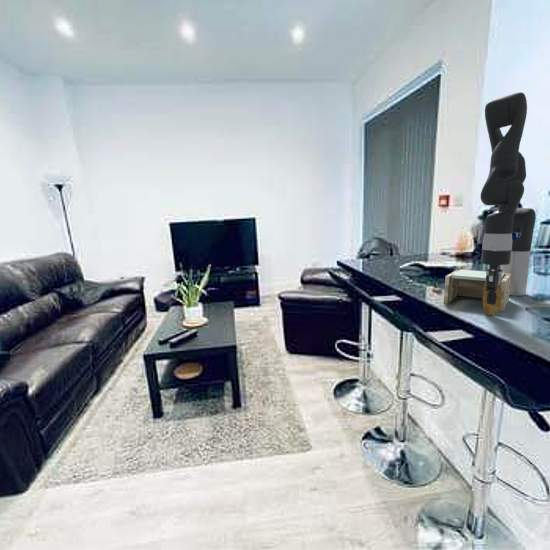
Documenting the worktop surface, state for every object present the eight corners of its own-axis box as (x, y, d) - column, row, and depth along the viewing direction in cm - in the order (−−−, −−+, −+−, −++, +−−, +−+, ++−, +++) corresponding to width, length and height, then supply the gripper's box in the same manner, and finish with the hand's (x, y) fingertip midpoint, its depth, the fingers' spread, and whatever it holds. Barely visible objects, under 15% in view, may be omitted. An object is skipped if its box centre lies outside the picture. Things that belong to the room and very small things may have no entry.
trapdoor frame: (454, 294, 134) (456, 269, 132) (508, 300, 123) (511, 273, 121) (443, 303, 121) (445, 276, 119) (502, 311, 110) (505, 281, 108)
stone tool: (500, 315, 105) (504, 268, 102) (499, 317, 103) (504, 270, 100) (481, 313, 108) (485, 267, 105) (480, 315, 106) (484, 269, 103)
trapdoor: (460, 272, 130) (461, 269, 130) (504, 275, 121) (504, 272, 121) (451, 278, 119) (452, 274, 119) (498, 282, 110) (499, 278, 110)
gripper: (486, 246, 110) (481, 297, 113) (478, 249, 99) (473, 306, 102) (514, 246, 105) (508, 300, 108) (508, 250, 94) (503, 310, 97)
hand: (491, 302), depth 105 cm, fingers closed on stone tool, 2 cm apart
